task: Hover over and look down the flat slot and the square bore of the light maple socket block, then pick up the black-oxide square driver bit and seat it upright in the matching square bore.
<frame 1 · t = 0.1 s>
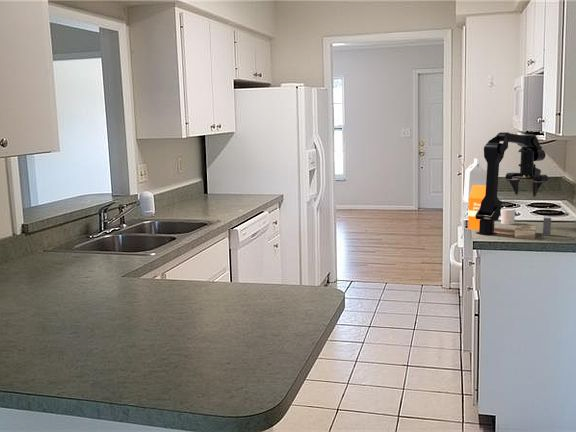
hand: (525, 195, 293), 15 cm above the worktop, fingers open, 9 cm apart
socket block: (525, 235, 274), on the worktop
square bit: (546, 235, 274), on the worktop
white cylinder: (507, 224, 304), on the worktop
milk: (475, 202, 382), on the worktop
orange juice: (480, 228, 292), on the worktop
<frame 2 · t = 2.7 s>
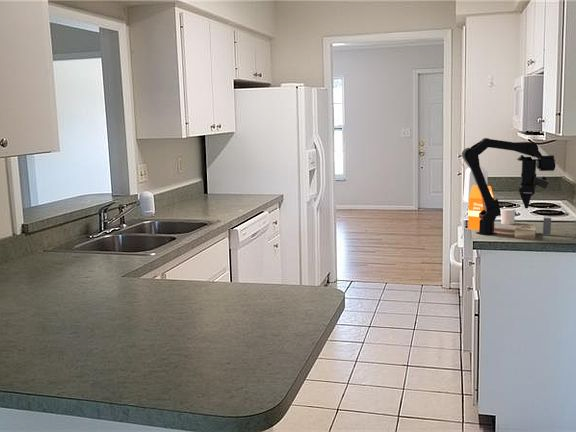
hand: (526, 206, 275), 12 cm above the worktop, fingers open, 9 cm apart
nothing on the worktop moved.
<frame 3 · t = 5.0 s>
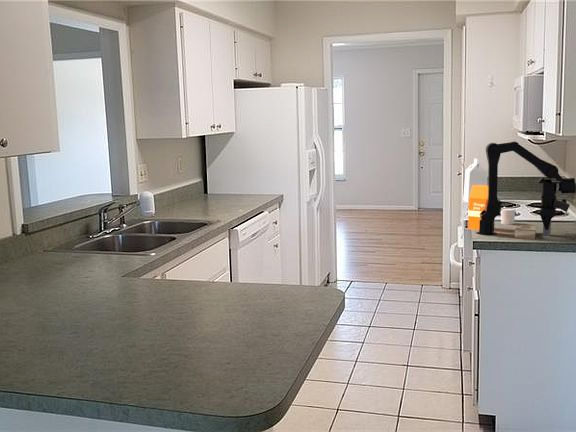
hand: (546, 229, 273), 3 cm above the worktop, fingers closed on square bit, 3 cm apart
square bit: (546, 235, 274), on the worktop, touching gripper
everything else where it was.
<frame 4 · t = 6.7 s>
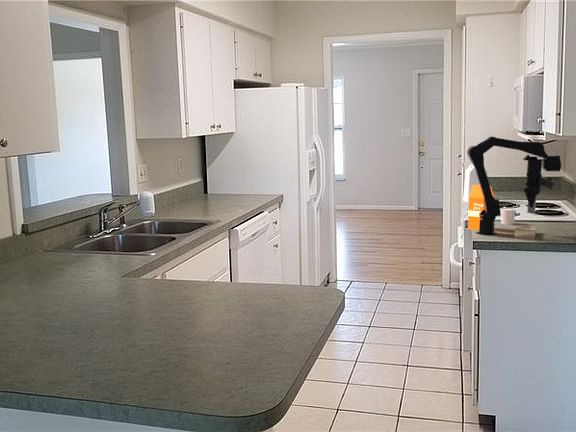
hand: (531, 206, 274), 12 cm above the worktop, fingers closed on square bit, 3 cm apart
square bit: (531, 212, 275), point 10 cm above the worktop, touching gripper
everything else where it was.
when the fingers open (4 cm above the worktop, at t = 8.6 s): square bit drops 2 cm, resting in socket block.
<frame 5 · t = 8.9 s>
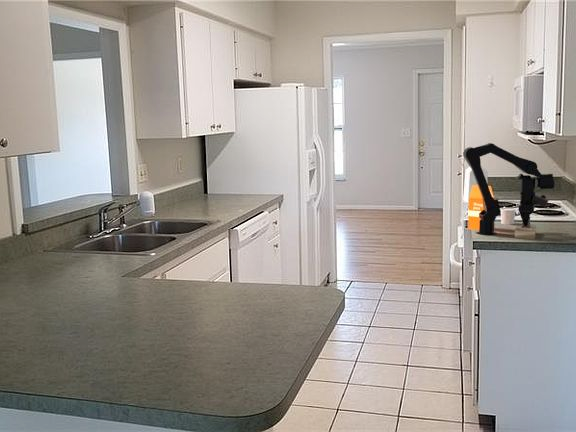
hand: (526, 224, 276), 4 cm above the worktop, fingers open, 7 cm apart
square bit: (525, 234, 277), resting in socket block
everything else where it was.
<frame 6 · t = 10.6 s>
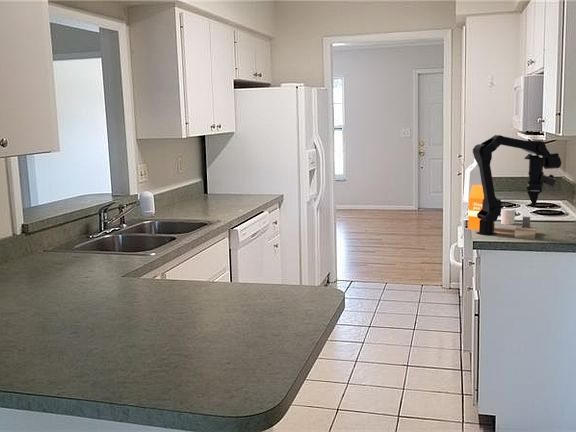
hand: (534, 204, 280), 12 cm above the worktop, fingers open, 9 cm apart
nothing on the worktop moved.
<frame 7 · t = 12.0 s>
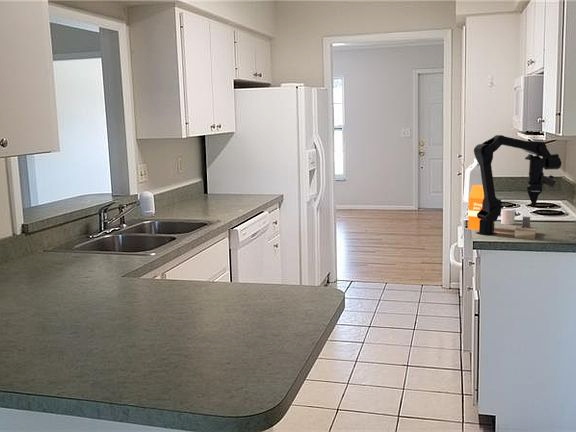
hand: (534, 205, 280), 12 cm above the worktop, fingers open, 9 cm apart
nothing on the worktop moved.
at the end: square bit 0.0 cm from the target spot on the socket block, point 0.0 cm above the socket block's base; square bit tilted 0°; the gripper is holding nothing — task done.
